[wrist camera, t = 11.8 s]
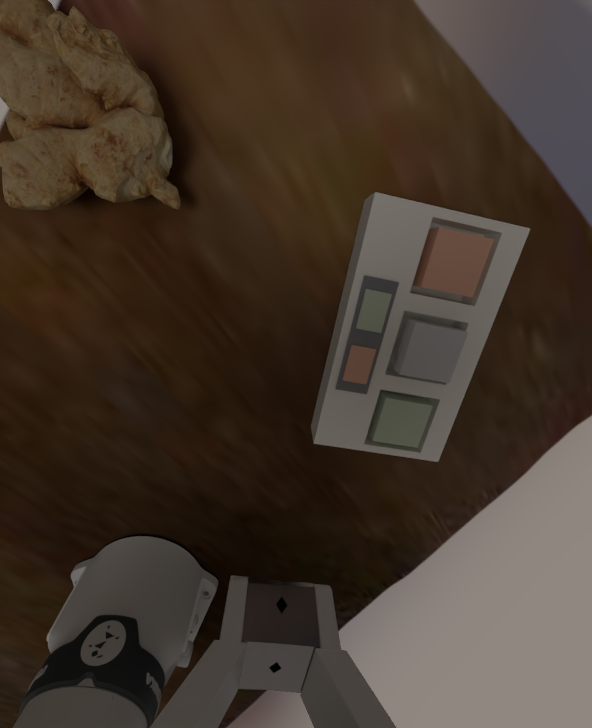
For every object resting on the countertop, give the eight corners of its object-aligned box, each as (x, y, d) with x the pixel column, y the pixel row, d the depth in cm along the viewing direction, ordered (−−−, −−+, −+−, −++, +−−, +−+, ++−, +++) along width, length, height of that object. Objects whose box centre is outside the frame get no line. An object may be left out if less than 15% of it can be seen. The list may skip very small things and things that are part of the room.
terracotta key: (460, 295, 30) (472, 297, 28) (412, 285, 30) (420, 286, 28) (479, 240, 29) (493, 239, 27) (429, 229, 28) (439, 227, 26)
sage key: (410, 437, 35) (417, 447, 33) (367, 430, 34) (372, 440, 33) (424, 397, 33) (433, 405, 32) (380, 390, 33) (386, 398, 31)
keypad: (424, 444, 37) (439, 464, 34) (310, 426, 36) (314, 445, 32) (503, 232, 30) (533, 228, 26) (364, 199, 29) (376, 191, 25)
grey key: (439, 375, 31) (449, 383, 29) (392, 367, 31) (399, 374, 29) (456, 327, 30) (468, 332, 28) (407, 318, 29) (415, 322, 27)
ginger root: (175, 264, 29) (109, 251, 21) (29, 205, 30) (-84, 171, 22) (226, 72, 25) (169, -31, 17) (56, 13, 26) (-68, -108, 18)
